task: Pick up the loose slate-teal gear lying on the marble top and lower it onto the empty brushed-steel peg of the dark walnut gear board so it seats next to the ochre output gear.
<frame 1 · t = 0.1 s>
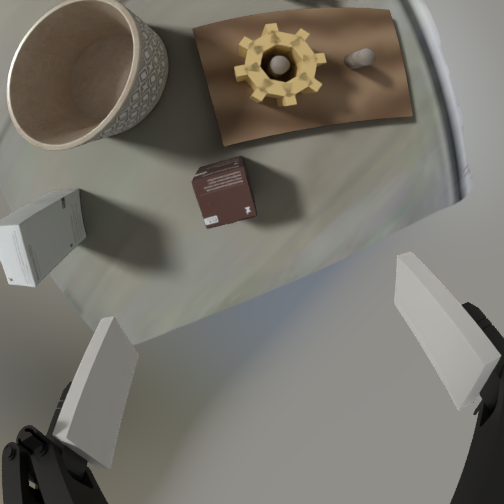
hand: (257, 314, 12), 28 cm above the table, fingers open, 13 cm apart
planter: (112, 77, 30), on the table
gear out: (273, 70, 29), point 2 cm above the table, touching gear board
box: (226, 182, 38), on the table
skincare box: (68, 211, 38), on the table
gear board: (310, 66, 31), on the table
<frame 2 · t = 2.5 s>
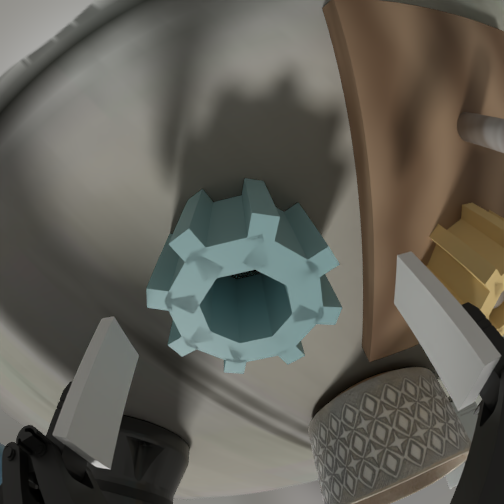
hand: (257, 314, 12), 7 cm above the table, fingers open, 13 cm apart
planter: (371, 402, 29), on the table
gear out: (460, 259, 18), point 2 cm above the table, touching gear board
skincare box: (446, 408, 35), on the table
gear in: (241, 250, 18), on the table
gear board: (450, 189, 17), on the table
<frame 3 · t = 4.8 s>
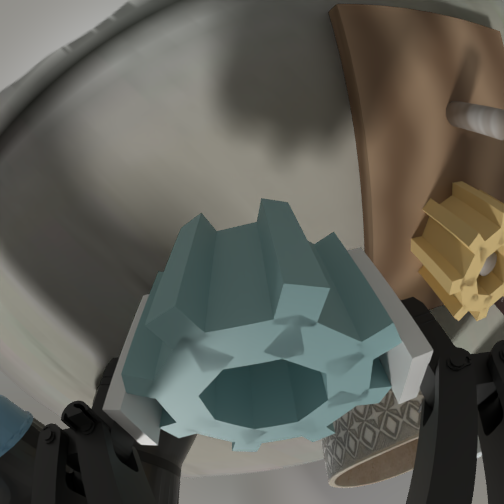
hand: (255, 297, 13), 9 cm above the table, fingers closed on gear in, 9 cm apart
planter: (374, 375, 32), on the table
gear out: (453, 233, 20), point 2 cm above the table, touching gear board
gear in: (255, 293, 14), point 9 cm above the table, touching gripper
gear board: (443, 170, 19), on the table
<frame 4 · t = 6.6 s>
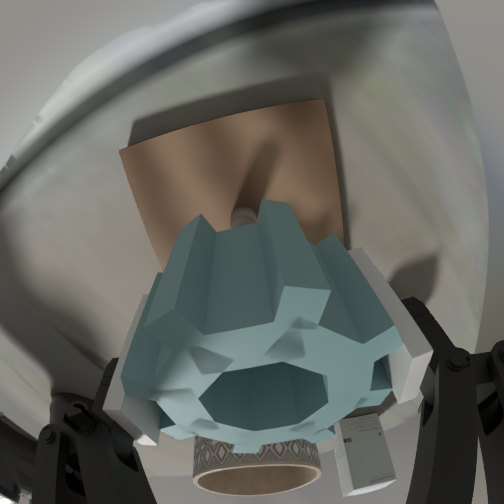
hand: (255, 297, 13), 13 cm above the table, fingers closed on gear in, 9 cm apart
planter: (251, 407, 39), on the table
skincare box: (351, 422, 45), on the table
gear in: (255, 294, 14), point 12 cm above the table, touching gripper
gear board: (255, 259, 27), on the table
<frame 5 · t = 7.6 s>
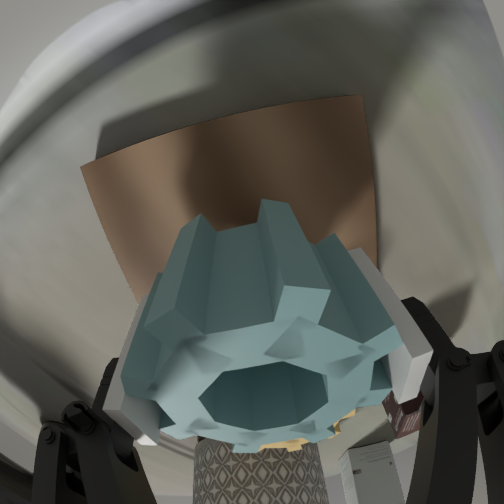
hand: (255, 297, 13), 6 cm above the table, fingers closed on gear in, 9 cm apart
planter: (255, 443, 33), on the table
gear out: (277, 363, 22), point 2 cm above the table, touching gear board
box: (401, 365, 27), on the table
skincare box: (361, 450, 39), on the table
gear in: (255, 294, 14), point 6 cm above the table, touching gripper
gear board: (263, 301, 21), on the table
when the fingers open (3 cm above the table, at t = 8.5 s): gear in drops 1 cm, resting on gear board.
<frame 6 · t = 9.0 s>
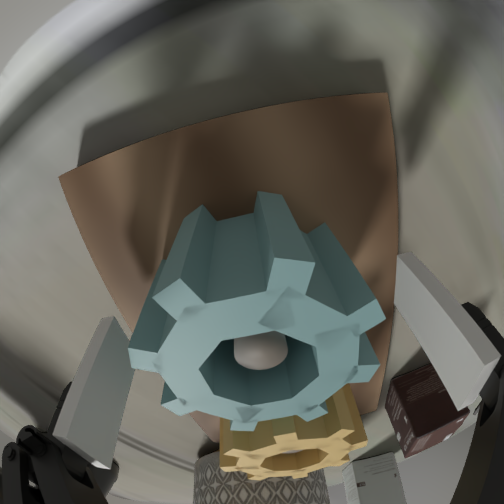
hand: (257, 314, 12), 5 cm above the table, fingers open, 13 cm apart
planter: (257, 458, 31), on the table
gear out: (283, 389, 19), point 2 cm above the table, touching gear board
box: (411, 382, 25), on the table
skincare box: (365, 461, 37), on the table
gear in: (252, 280, 15), point 2 cm above the table, touching gear board
gear board: (268, 324, 19), on the table
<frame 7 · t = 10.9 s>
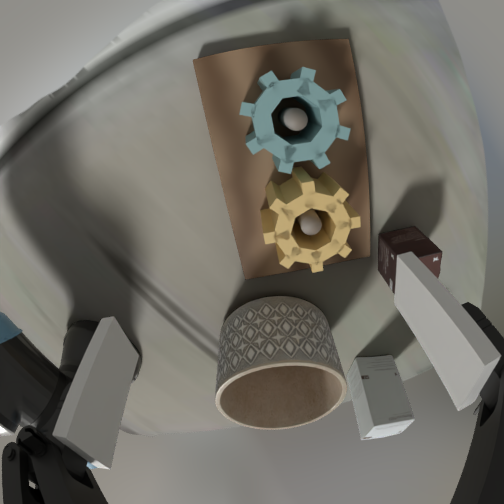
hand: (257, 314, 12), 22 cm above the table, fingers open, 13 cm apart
planter: (274, 332, 43), on the table
gear out: (302, 207, 31), point 2 cm above the table, touching gear board
box: (396, 247, 37), on the table
skincare box: (367, 364, 49), on the table
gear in: (286, 117, 27), point 2 cm above the table, touching gear board
gear board: (292, 159, 31), on the table
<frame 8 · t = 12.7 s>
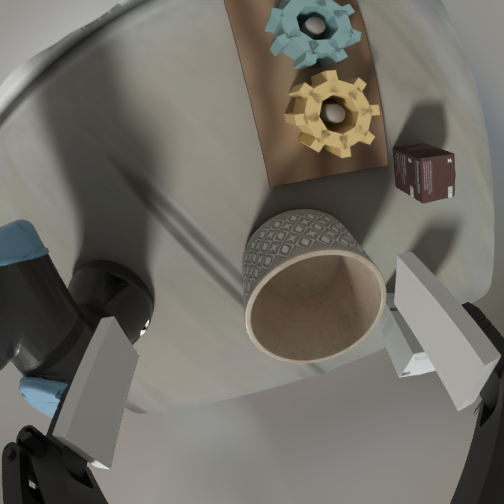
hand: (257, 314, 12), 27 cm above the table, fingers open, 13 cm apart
planter: (298, 258, 42), on the table
gear out: (322, 112, 31), point 2 cm above the table, touching gear board
box: (409, 164, 36), on the table
skincare box: (391, 303, 48), on the table
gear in: (304, 35, 26), point 2 cm above the table, touching gear board
gear board: (310, 74, 30), on the table
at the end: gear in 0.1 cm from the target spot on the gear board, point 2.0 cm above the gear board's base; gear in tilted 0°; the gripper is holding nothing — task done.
